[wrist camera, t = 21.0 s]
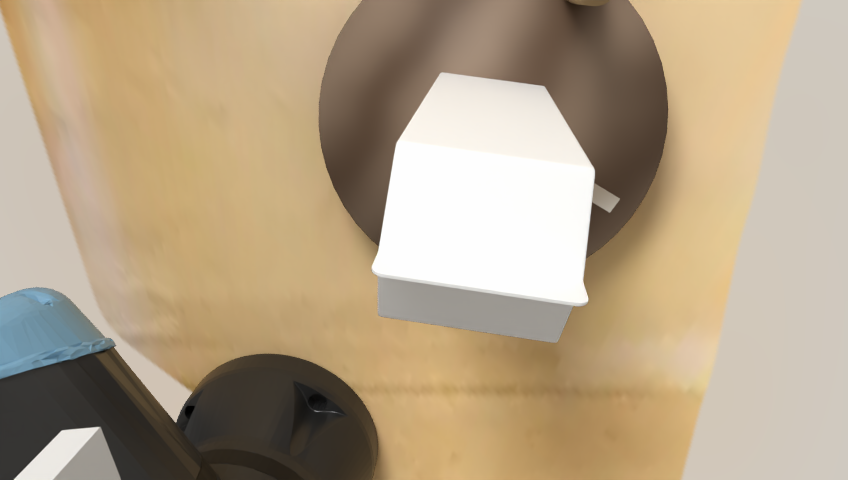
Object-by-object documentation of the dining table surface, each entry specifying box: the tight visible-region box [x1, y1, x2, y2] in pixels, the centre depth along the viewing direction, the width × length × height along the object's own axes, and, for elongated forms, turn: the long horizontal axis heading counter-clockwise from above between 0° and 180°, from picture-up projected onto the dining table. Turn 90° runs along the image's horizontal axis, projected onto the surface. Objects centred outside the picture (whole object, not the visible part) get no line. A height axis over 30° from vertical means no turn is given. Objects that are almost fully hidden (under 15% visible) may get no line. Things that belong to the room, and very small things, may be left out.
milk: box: [372, 72, 595, 343], centre depth 28 cm, size 6×6×22 cm
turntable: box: [319, 0, 668, 258], centre depth 36 cm, size 20×20×9 cm
